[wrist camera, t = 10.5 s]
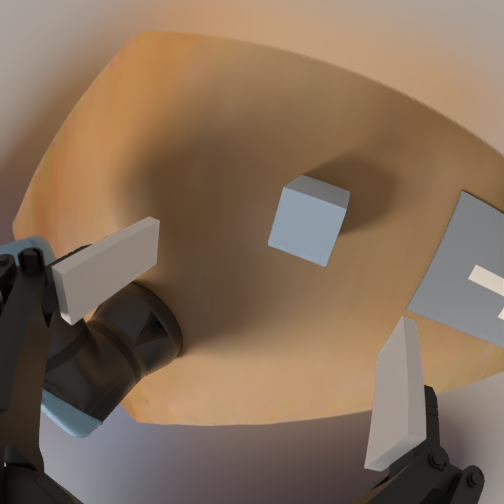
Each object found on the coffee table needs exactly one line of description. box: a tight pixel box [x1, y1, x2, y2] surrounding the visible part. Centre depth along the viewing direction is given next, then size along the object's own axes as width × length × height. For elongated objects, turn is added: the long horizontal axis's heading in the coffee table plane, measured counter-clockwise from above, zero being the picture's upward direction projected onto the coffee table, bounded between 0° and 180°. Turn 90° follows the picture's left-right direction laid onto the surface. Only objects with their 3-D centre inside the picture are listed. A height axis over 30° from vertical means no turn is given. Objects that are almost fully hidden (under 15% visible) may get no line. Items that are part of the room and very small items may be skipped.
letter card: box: [406, 191, 504, 348], centre depth 23 cm, size 18×14×1 cm
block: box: [267, 175, 351, 267], centre depth 25 cm, size 5×5×7 cm
